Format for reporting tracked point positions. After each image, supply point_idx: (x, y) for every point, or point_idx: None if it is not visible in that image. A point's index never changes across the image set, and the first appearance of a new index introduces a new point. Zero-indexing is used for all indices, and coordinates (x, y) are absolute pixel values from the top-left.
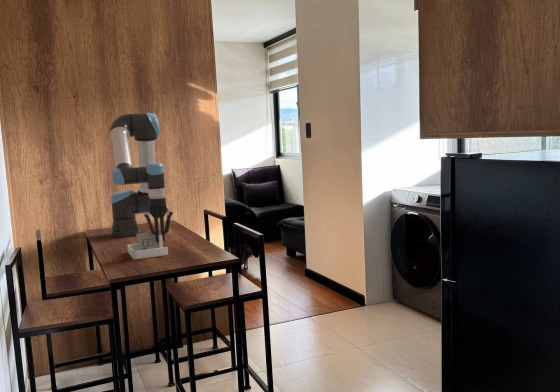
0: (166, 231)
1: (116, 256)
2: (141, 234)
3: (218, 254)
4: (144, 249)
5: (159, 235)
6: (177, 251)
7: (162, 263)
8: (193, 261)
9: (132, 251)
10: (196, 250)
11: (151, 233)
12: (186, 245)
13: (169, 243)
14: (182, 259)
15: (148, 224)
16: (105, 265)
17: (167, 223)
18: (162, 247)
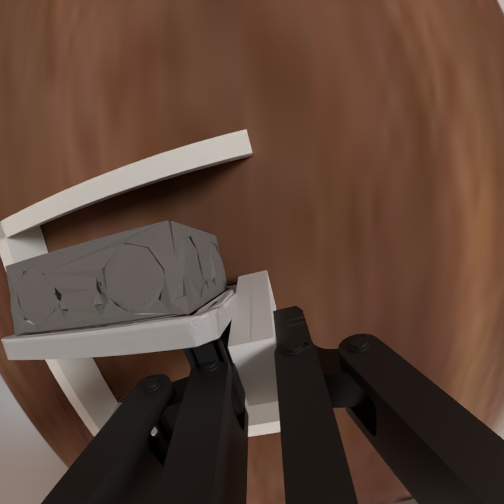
0: (355, 409)
1: (5, 302)
2: (41, 359)
3: (499, 406)
4: (115, 195)
5: (255, 404)
6: (376, 317)
7: (268, 492)
8: (388, 482)
9: (86, 422)
10: (473, 321)
11: (139, 351)
12: (451, 141)
13: (319, 5)
14: (360, 464)
15: (72, 485)
16: (38, 429)
17: (413, 487)
18: (275, 425)
